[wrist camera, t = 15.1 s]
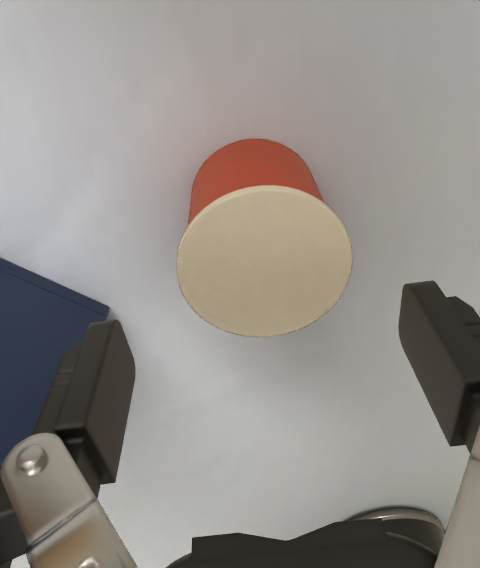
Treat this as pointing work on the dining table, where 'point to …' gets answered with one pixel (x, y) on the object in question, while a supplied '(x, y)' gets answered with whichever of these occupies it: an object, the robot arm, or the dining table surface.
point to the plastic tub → (261, 243)
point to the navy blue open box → (34, 344)
